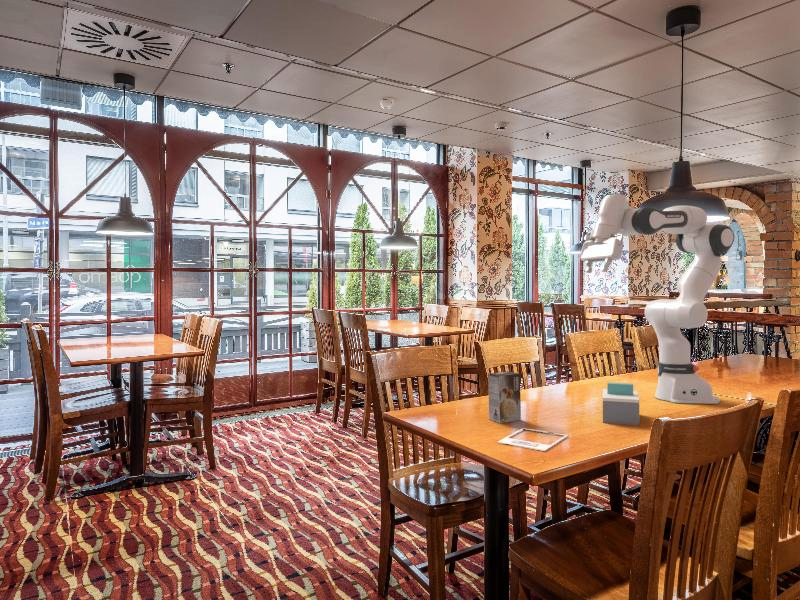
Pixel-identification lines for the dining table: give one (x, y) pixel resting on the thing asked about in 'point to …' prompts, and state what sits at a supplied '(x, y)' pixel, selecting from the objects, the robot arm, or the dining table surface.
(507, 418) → the coffee box
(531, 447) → the photo frame
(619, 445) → the dining table surface
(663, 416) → the dining table surface
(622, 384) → the lid
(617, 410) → the tub
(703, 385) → the robot arm
